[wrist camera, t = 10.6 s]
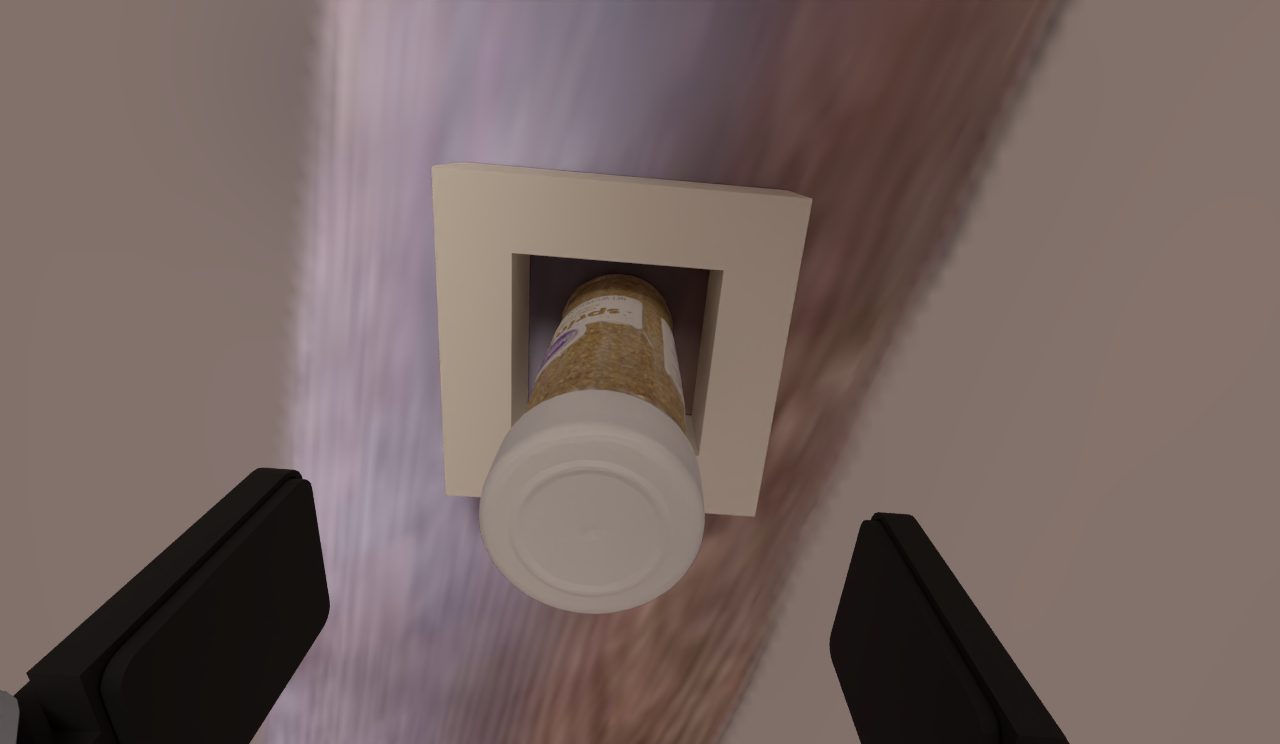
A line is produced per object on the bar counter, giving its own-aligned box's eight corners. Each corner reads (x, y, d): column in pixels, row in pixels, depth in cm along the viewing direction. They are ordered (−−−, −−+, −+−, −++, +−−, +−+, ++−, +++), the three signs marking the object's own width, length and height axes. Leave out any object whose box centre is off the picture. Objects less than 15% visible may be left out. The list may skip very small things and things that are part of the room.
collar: (462, 161, 22) (431, 165, 18) (787, 190, 22) (812, 198, 19) (470, 450, 26) (445, 494, 23) (740, 470, 26) (754, 516, 23)
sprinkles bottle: (591, 251, 23) (529, 388, 10) (694, 304, 24) (752, 490, 11) (542, 350, 24) (438, 574, 12) (641, 396, 25) (640, 653, 13)
